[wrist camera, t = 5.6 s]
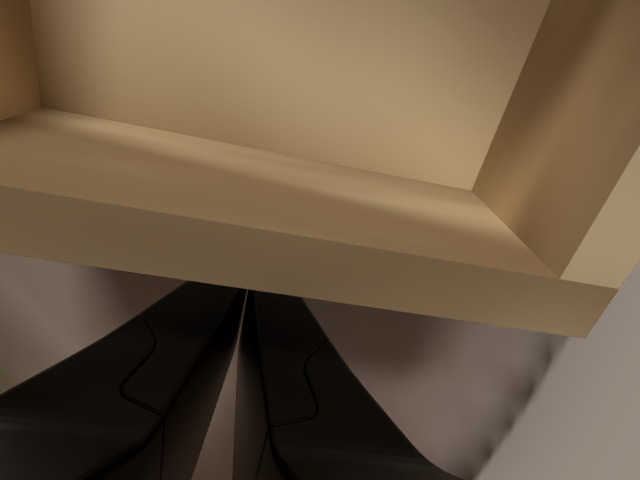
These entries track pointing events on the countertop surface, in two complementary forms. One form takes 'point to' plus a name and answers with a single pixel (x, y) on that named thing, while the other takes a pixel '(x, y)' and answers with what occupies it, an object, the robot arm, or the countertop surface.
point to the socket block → (333, 148)
